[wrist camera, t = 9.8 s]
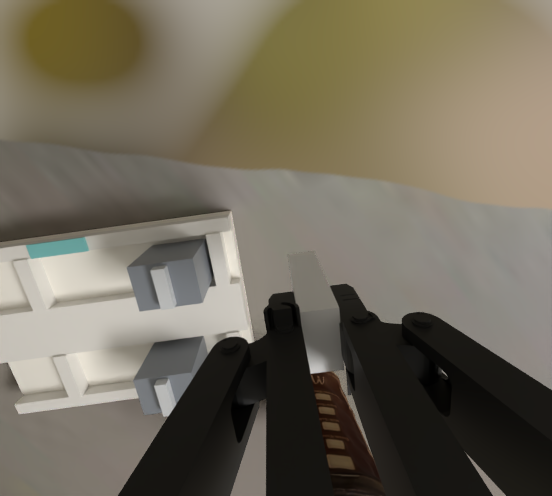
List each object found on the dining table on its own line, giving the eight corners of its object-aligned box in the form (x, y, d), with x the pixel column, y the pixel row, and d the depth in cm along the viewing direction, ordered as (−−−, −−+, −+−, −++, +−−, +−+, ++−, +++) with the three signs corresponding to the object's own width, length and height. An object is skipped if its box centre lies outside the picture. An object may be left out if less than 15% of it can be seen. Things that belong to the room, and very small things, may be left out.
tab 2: (163, 371, 26) (141, 422, 21) (154, 341, 25) (129, 386, 21) (210, 365, 26) (198, 414, 21) (203, 334, 25) (189, 378, 21)
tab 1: (161, 282, 24) (135, 316, 19) (151, 245, 23) (122, 271, 18) (213, 275, 24) (201, 307, 19) (205, 238, 23) (190, 261, 18)
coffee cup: (275, 435, 31) (283, 627, 19) (248, 369, 28) (236, 539, 16) (360, 412, 30) (427, 592, 18) (340, 342, 28) (401, 496, 16)
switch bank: (39, 391, 28) (17, 416, 26) (-26, 245, 24) (-61, 257, 21) (258, 362, 28) (257, 383, 26) (231, 210, 24) (227, 217, 21)
